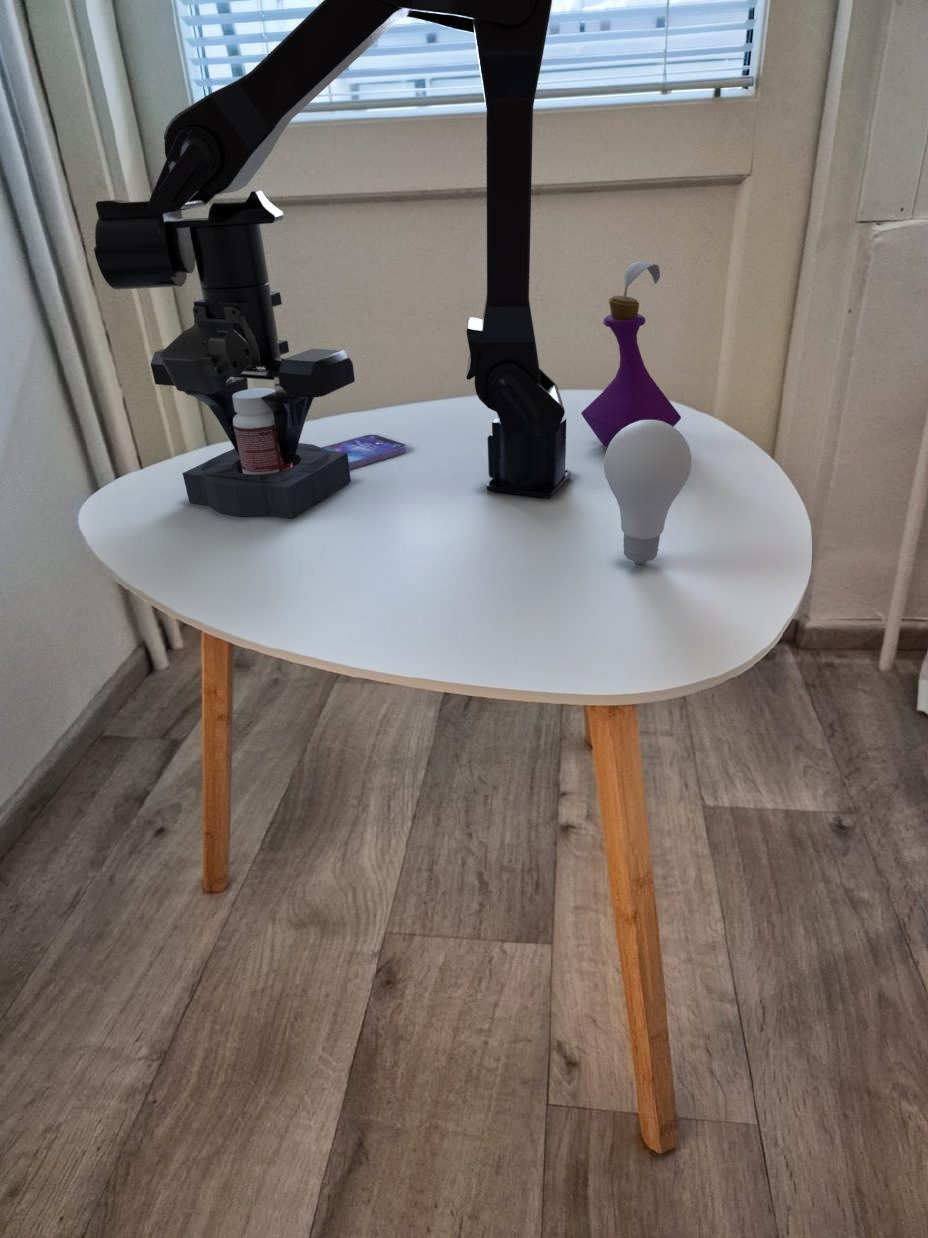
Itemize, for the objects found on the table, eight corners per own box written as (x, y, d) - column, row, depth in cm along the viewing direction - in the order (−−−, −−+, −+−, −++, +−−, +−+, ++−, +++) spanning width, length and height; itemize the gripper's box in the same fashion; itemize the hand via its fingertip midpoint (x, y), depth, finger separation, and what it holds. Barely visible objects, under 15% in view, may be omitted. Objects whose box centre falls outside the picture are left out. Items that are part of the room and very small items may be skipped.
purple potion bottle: (621, 461, 80) (633, 269, 71) (579, 442, 86) (584, 262, 77) (679, 447, 83) (697, 261, 74) (634, 430, 89) (646, 255, 80)
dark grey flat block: (357, 477, 80) (354, 448, 78) (285, 524, 70) (280, 492, 69) (260, 465, 84) (255, 437, 83) (180, 506, 75) (173, 476, 73)
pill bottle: (295, 485, 75) (281, 396, 71) (244, 491, 74) (226, 402, 70) (294, 469, 79) (280, 384, 75) (245, 474, 78) (228, 389, 74)
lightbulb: (664, 588, 57) (678, 439, 52) (586, 570, 60) (591, 427, 55) (691, 555, 62) (707, 414, 56) (617, 540, 65) (625, 405, 59)
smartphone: (253, 465, 83) (372, 433, 91) (255, 474, 84) (373, 441, 92) (287, 481, 78) (410, 445, 86) (289, 490, 78) (410, 453, 86)
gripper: (82, 297, 65) (131, 477, 73) (265, 302, 58) (298, 502, 66) (176, 277, 74) (211, 441, 82) (347, 280, 67) (367, 459, 74)
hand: (266, 459), depth 76 cm, fingers closed on pill bottle, 5 cm apart
